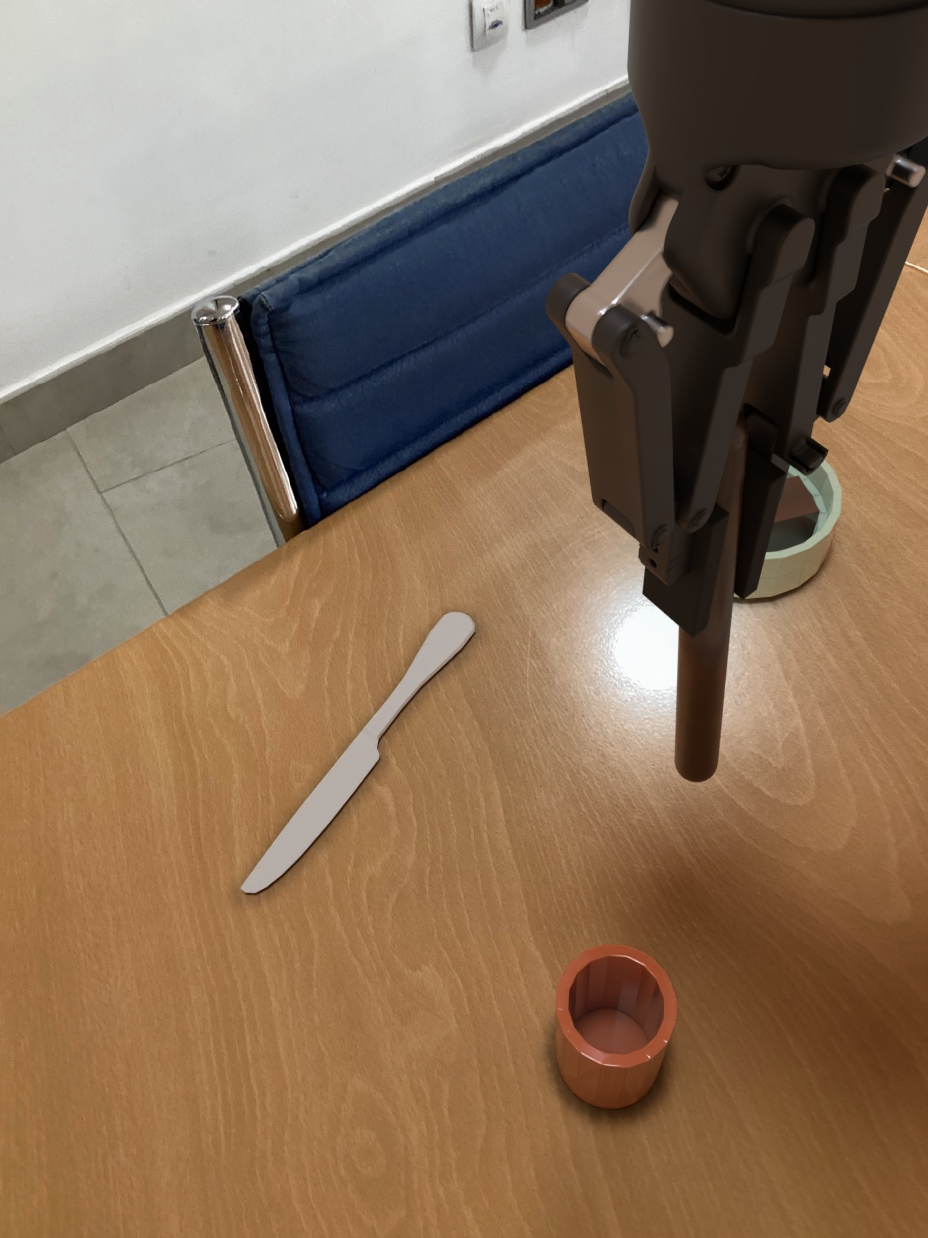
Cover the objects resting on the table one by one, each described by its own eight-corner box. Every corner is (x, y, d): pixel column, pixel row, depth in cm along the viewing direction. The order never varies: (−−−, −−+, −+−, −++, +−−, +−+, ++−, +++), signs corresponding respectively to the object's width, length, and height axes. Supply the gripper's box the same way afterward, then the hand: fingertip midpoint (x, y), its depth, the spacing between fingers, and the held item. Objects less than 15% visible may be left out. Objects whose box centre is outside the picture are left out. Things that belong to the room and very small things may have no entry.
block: (810, 542, 76) (820, 511, 73) (764, 554, 75) (772, 522, 73) (790, 507, 78) (798, 474, 75) (744, 518, 77) (752, 486, 75)
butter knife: (484, 622, 74) (450, 604, 75) (263, 905, 63) (227, 879, 64) (484, 626, 74) (450, 608, 75) (264, 907, 64) (228, 882, 65)
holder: (681, 1060, 57) (702, 1011, 49) (605, 1133, 56) (613, 1094, 47) (609, 980, 60) (618, 920, 52) (535, 1046, 58) (531, 996, 50)
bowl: (862, 539, 76) (879, 493, 72) (745, 633, 73) (756, 590, 68) (735, 448, 82) (745, 401, 78) (620, 531, 78) (624, 485, 74)
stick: (723, 784, 50) (760, 420, 33) (681, 795, 49) (697, 435, 33) (708, 749, 51) (737, 382, 34) (668, 759, 51) (677, 396, 34)
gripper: (915, -253, 25) (763, 443, 45) (414, -33, 21) (485, 636, 40) (1217, -173, 22) (909, 547, 41) (688, 115, 17) (621, 774, 36)
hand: (699, 591), depth 40 cm, fingers closed on stick, 2 cm apart
